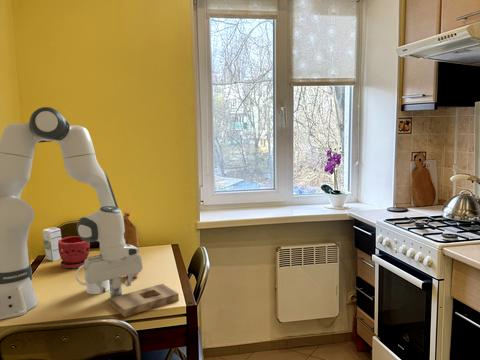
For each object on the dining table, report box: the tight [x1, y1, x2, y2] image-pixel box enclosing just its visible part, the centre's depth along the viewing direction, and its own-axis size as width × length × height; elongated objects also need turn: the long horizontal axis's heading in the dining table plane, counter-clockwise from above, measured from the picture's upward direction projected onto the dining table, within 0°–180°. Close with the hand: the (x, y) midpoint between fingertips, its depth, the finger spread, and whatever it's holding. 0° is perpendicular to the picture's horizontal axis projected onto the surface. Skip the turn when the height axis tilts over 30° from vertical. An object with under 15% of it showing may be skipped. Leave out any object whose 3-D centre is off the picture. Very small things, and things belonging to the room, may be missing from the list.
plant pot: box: [58, 235, 91, 269], centre depth 192 cm, size 13×13×12 cm
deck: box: [109, 283, 180, 318], centre depth 151 cm, size 20×12×2 cm, turn 127°
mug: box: [75, 257, 110, 295], centre depth 162 cm, size 12×8×12 cm
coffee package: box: [123, 208, 140, 250], centre depth 202 cm, size 10×12×22 cm
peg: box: [109, 277, 123, 298], centre depth 156 cm, size 4×4×8 cm
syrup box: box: [42, 226, 62, 262], centre depth 202 cm, size 6×6×14 cm
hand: (115, 289), depth 156 cm, fingers open, 8 cm apart
